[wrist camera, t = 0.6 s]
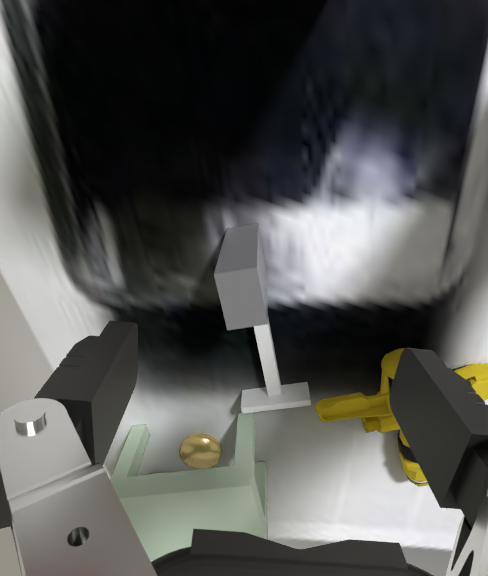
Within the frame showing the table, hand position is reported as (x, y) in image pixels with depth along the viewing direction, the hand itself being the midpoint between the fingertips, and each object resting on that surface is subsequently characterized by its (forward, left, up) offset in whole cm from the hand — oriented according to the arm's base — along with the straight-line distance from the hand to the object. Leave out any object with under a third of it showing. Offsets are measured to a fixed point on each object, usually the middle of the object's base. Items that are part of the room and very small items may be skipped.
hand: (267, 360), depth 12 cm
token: (+10, +23, -19) cm, 31 cm away
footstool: (+10, +23, -19) cm, 31 cm away
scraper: (+2, +9, -19) cm, 21 cm away
